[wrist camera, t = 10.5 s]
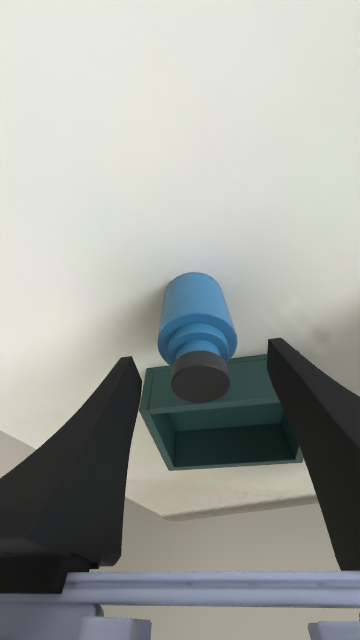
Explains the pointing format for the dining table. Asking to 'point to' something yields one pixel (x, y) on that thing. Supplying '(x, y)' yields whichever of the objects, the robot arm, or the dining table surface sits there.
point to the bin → (220, 421)
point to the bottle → (197, 338)
